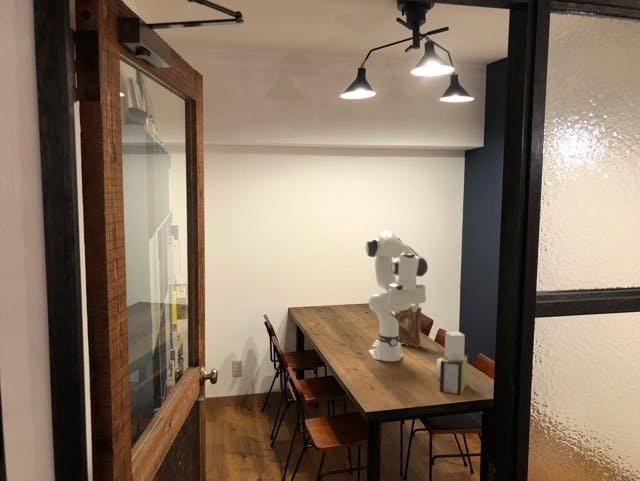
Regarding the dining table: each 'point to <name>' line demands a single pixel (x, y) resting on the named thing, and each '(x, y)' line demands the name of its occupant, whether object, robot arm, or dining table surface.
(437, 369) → the off-white mug
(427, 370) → the dining table surface
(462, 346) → the supplement box
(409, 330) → the book
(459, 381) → the protein box
